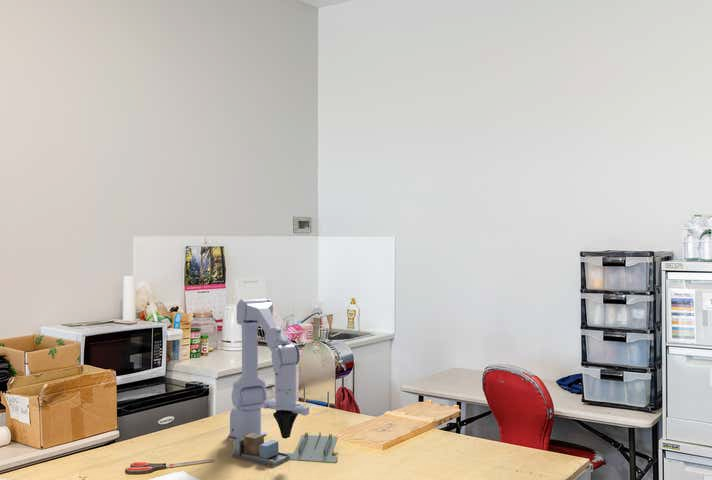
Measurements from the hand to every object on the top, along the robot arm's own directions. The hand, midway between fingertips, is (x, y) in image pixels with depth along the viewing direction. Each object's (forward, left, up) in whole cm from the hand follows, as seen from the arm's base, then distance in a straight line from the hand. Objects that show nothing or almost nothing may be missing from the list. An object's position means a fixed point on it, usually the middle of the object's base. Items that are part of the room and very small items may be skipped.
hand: (285, 437), depth 186 cm
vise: (-9, 0, -7) cm, 12 cm away
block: (-12, 0, -6) cm, 13 cm away
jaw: (-6, 0, -6) cm, 9 cm away
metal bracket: (+2, +11, -8) cm, 14 cm away
